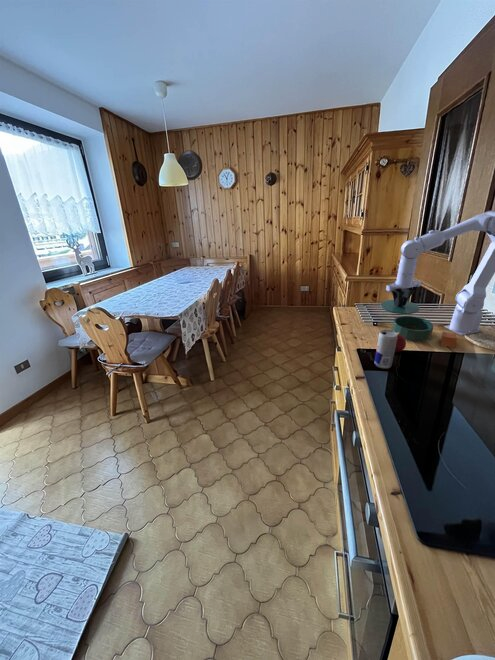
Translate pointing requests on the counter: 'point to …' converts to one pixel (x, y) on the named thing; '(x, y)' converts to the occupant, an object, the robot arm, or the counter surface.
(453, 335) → the block
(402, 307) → the tin lid
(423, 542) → the counter surface
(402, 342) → the onion
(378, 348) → the energy drink
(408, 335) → the tin
